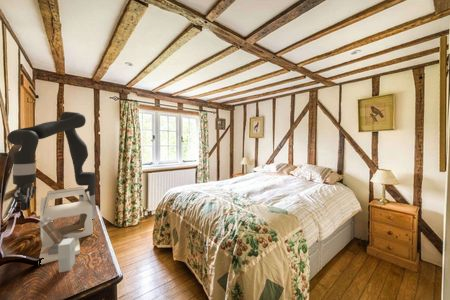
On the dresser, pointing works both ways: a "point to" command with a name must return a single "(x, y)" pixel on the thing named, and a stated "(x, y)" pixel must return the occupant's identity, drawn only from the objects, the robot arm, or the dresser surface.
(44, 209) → the gable box
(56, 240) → the breaker lever
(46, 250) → the switch panel
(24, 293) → the dresser surface
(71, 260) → the skincare box
